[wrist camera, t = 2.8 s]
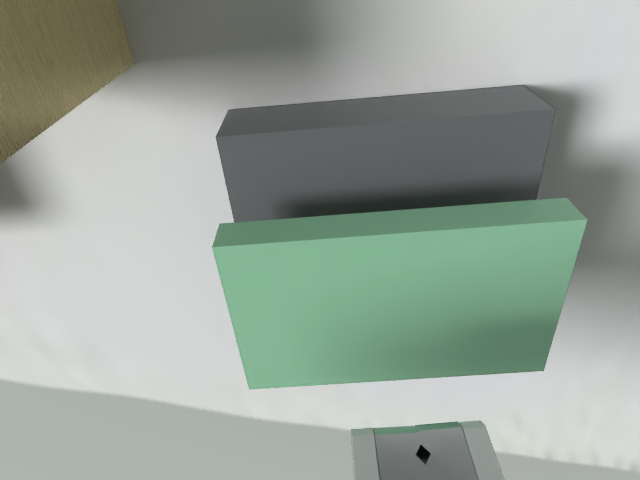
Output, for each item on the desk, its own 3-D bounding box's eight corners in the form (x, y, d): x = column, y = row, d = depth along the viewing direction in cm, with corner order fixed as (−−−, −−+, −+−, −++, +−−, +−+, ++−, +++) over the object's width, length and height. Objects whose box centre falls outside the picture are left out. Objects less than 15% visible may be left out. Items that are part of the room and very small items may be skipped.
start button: (540, 169, 14) (587, 219, 12) (511, 309, 18) (543, 370, 15) (229, 194, 15) (212, 247, 12) (258, 326, 18) (249, 389, 16)
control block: (522, 85, 15) (555, 108, 13) (485, 305, 21) (504, 347, 19) (228, 109, 16) (215, 136, 14) (269, 320, 21) (265, 362, 19)
